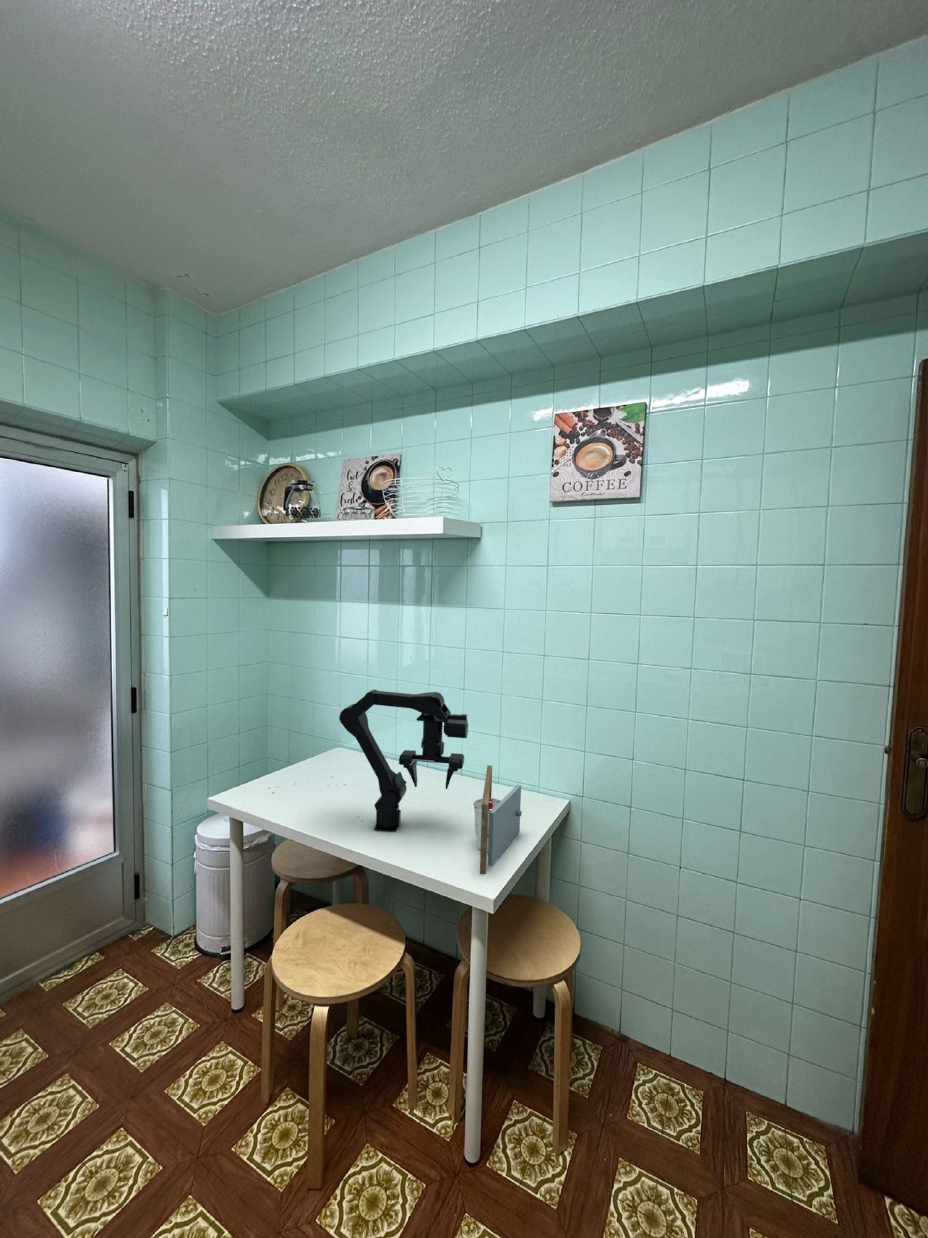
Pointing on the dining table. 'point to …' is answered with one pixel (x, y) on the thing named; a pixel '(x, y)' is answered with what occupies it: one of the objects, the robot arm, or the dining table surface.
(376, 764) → the robot arm
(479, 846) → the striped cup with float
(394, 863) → the dining table surface
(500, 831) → the door
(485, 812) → the door frame
